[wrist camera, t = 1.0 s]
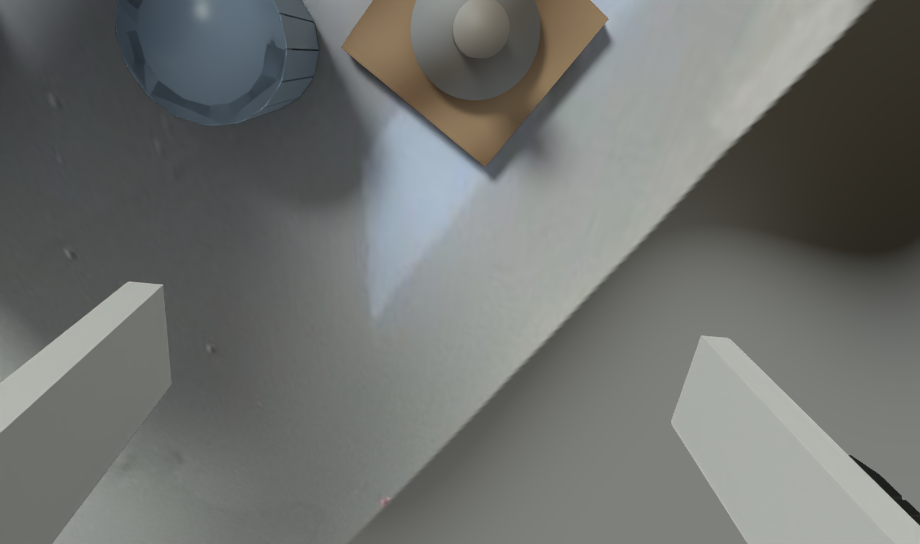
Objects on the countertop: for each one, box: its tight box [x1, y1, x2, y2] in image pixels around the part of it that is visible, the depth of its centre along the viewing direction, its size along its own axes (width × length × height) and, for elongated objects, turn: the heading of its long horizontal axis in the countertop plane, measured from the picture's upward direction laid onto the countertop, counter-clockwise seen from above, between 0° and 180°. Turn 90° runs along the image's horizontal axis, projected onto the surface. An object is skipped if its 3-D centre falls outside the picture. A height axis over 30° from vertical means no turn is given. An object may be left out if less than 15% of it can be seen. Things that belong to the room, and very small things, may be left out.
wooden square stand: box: [341, 0, 608, 167], centre depth 26 cm, size 10×10×7 cm
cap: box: [115, 0, 319, 126], centre depth 26 cm, size 7×7×6 cm
